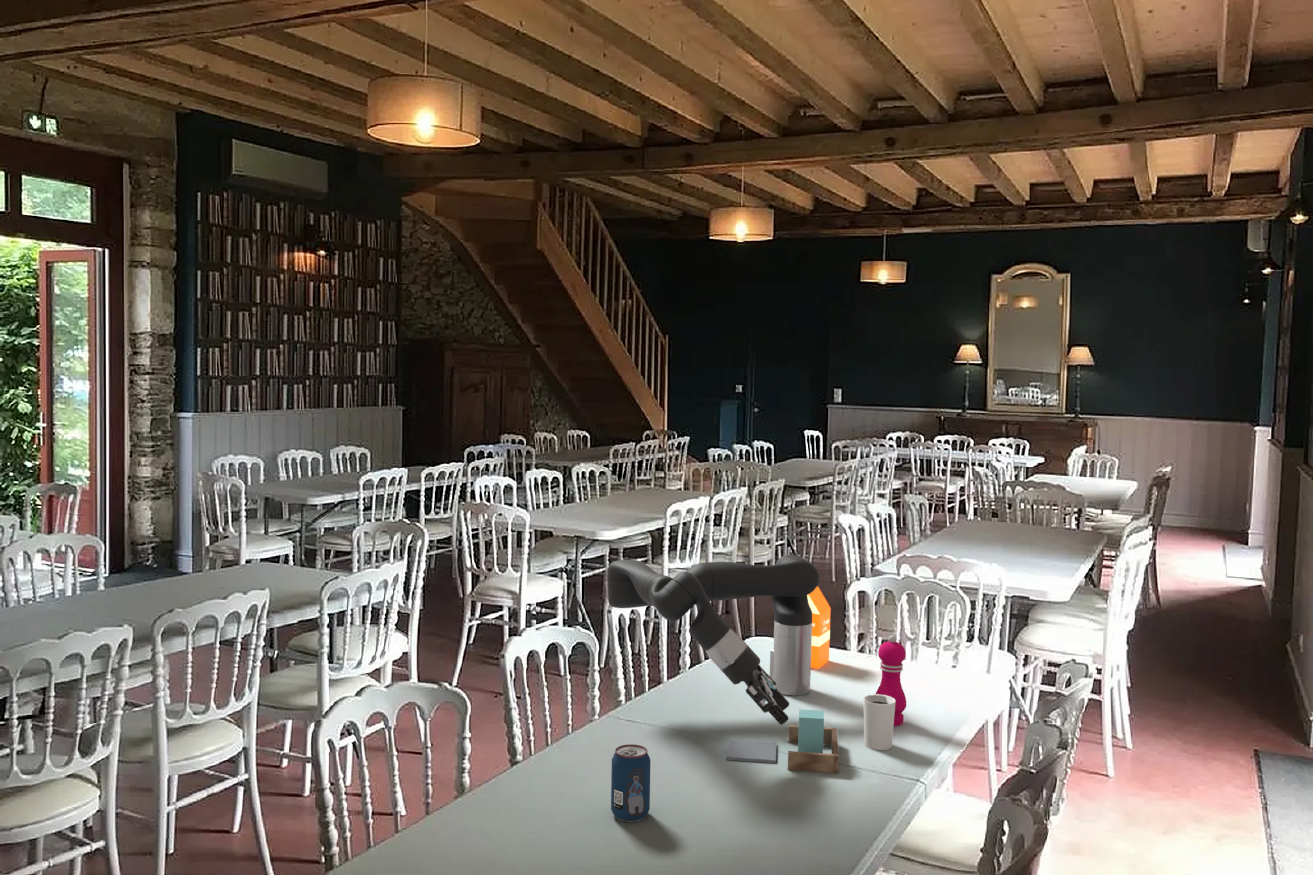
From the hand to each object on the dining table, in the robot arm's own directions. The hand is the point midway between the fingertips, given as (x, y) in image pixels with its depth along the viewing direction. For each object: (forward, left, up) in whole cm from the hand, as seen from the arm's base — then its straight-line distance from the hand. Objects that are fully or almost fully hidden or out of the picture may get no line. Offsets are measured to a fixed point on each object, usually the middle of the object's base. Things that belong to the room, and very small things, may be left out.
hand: (785, 714), depth 220 cm
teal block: (+3, +4, -9) cm, 10 cm away
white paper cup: (+9, +20, -9) cm, 24 cm away
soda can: (+1, -43, -9) cm, 44 cm away
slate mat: (-6, -4, -9) cm, 11 cm away
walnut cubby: (+3, +4, -9) cm, 10 cm away
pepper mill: (+2, +34, -9) cm, 35 cm away
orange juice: (-39, +56, -9) cm, 69 cm away
